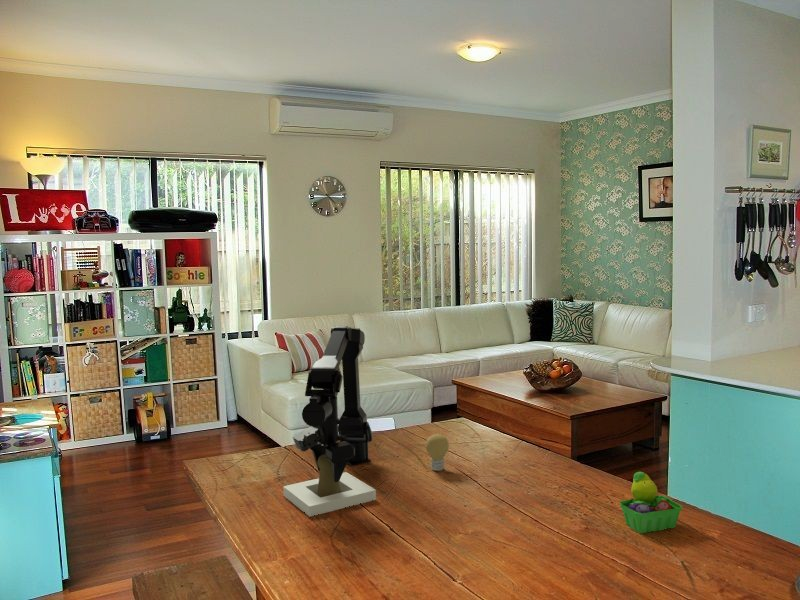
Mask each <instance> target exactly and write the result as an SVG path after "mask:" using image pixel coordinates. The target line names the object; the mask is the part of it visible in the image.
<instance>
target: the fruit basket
mask: <svg viewBox="0 0 800 600" xmlns="http://www.w3.org/2000/svg"><path fill="white" fill-rule="evenodd" d="M632 480H633V482H632V484H631V495H632V497H633V498H631V499H626V500H621V501H619V505H620V507H621V510H622V514H623V516H624V520H625V523H626V524H625V525H626V526H628V527H629V528H631V529H632V530H634V531H635V532H637V533H638V534H640V533H641V534H646V533H652V532H651V531H653V532H657V531H664V529H665V530H667V528H668V530H670V529H669V528H671V529H674V528H676V526H677V522H678V520H679V516H680V513H681V512H682V509H683V505H681V504H679V503H678V502H676V501H673V500H672V499H670V498H668V497H667V496H665V495H661V494H658V495H657V492H658V491H659V490H658V487H657V485H656V484H655V482H654V481H653V480H652V479H651V477H649V475H648V474H647V473H645V472H643V471H637V472H635V473H634V474H633V479H632Z"/></svg>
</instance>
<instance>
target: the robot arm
mask: <svg viewBox="0 0 800 600" xmlns="http://www.w3.org/2000/svg"><path fill="white" fill-rule="evenodd" d="M365 339H366V336H365V332H364V331H362V330H361V328H360V327H359V328H357V327H355V328H354V327H353V328H352V327H350V326H345V325H344V326H343V325H341V326H340V325H336V326H332V327H331V329H330V337H329V339H328V342H327V344H326V347H325V350H324V352H323V354H322V357H321V358H320V359H318V360H316V361H315V362H314V363H313V365H312V367H311V369H310V370H309V371H308V375H307V381H306V388H305V392H304V396H305V397H309V398H308V399H309V400H308V401H309V402H308V403H307V404H306V405H305V406H304V407H303V409H302V410H301V411H302V412H301V418H302V420H303V422H304V423H305V424H306V425H307V426H308V427H306V428H304V429H303V430H301V431H299V432H298V433H296V434H294V435H293V436H292V439H293V442H294V444H295V446H296V448H297V449H298V450H300V451H301V452H303V453H304V452H307V451H308V450H310V451H311V453H312V456H313V459H314V462H315V465H316V468H317V471H318V472H319V473H320V468H319V467H318V464H317V461H318V458H319V457H320V456H321V455H324V454H326V455H327V457H326V458H327V459H328V460H329V461H330V462H331V465H332V471H333V477H334V481H335V482H339V480H340V478H341V476H342V474H343V473H344V471H345V470H346V467H347V465H348V464H349V465H350V466H356V465H359V464H360V465H361V464H364V463H370V462H372V459H371V458H369V444H368V443H370V442H372V441H373V432H372V429H371V426H370V423H369V421H368V419H367V418H368V417H367V414H366V412H365V410H364V409H363V408H362V406H361V391H360V370H359V356H360V354H361V353H362V351H363V350H364V344H365ZM341 364H342V365H341ZM340 365H341V366H342V371H341V368H340ZM342 385H343V402H344V411H343V412H342V413H341V415H340V416H339V414H338V412H339V411H338V408H339V407H338V394H339V393H341V387H342ZM312 388H313V389H312ZM338 416H339V417H340V418H339V417H338Z"/></svg>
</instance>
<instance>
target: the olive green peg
mask: <svg viewBox="0 0 800 600" xmlns="http://www.w3.org/2000/svg"><path fill="white" fill-rule="evenodd" d="M326 457H327V455H326V454H324V455H321V456H320V457H319V458H318V461H317V464H318V467H319V468H320V472H319V474H318V478H319V484H318V493H317V494H316V495H317V496H319V497H320V498H321V497H325V496H329V495H333V494H337V493H341V491H340V487H339V482H335V481H334V477H333V471H332V465H331V462H330V461H329V460H328V459H327V458H326Z"/></svg>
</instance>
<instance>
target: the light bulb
mask: <svg viewBox="0 0 800 600" xmlns="http://www.w3.org/2000/svg"><path fill="white" fill-rule="evenodd" d="M449 447H450V446H449V441H448V439H447V438H446V437H445V436H444V435H442V434H440V433H436V434H435V433H434V434H431V435H429V436H428V437H427V440H426V441H425V448H426V449H425V450H426V452H427V454H428V455H429V456H430V457H431V458H430V469H431V470H432V471H435V472H441V471H443V470H444V468H445V458H444V457H445V456H446V454H447V453H448V451H449Z"/></svg>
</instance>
